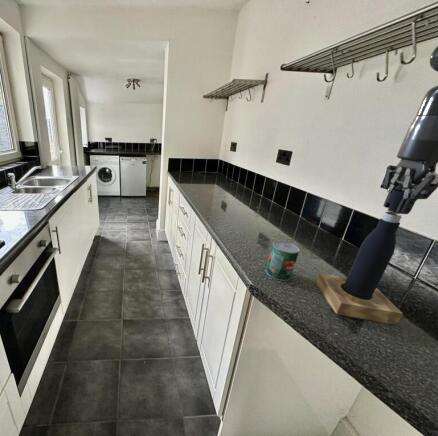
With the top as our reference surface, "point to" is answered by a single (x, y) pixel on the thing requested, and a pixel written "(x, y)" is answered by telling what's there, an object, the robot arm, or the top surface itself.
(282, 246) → the canned tomato
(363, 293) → the dark blue water bottle
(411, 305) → the top surface
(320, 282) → the hole plate
